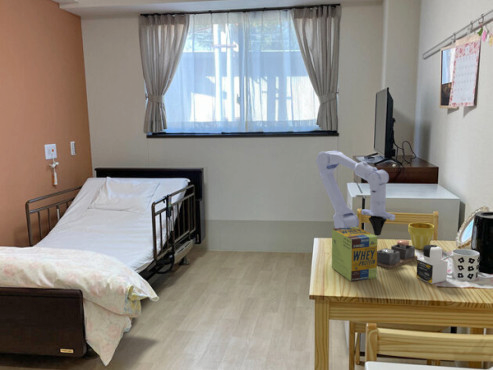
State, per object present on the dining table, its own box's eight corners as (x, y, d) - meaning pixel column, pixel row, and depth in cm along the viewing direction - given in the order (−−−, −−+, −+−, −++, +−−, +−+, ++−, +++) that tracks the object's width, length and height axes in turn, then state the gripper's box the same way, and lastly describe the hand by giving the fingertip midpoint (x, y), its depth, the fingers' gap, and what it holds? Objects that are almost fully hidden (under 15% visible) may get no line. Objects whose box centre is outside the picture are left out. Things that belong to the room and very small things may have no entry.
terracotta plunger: (404, 253, 169) (404, 243, 169) (394, 250, 173) (395, 241, 172) (411, 251, 172) (411, 241, 171) (401, 248, 175) (401, 239, 175)
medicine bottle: (415, 277, 153) (417, 245, 151) (431, 274, 156) (432, 242, 154) (431, 284, 146) (433, 250, 144) (447, 280, 149) (448, 247, 147)
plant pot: (423, 252, 179) (424, 229, 178) (402, 246, 188) (403, 224, 186) (438, 247, 185) (439, 225, 183) (417, 242, 193) (418, 221, 192)
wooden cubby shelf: (389, 269, 161) (390, 256, 161) (372, 263, 168) (372, 251, 167) (417, 258, 172) (417, 246, 171) (399, 253, 178) (400, 242, 177)
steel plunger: (388, 263, 164) (389, 253, 163) (379, 260, 167) (379, 250, 167) (395, 260, 166) (396, 250, 166) (386, 257, 170) (386, 248, 169)
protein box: (351, 282, 151) (351, 239, 148) (331, 267, 165) (331, 228, 163) (377, 278, 153) (378, 236, 151) (355, 264, 168) (356, 225, 165)
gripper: (356, 200, 171) (356, 233, 173) (387, 205, 160) (386, 240, 162) (367, 197, 176) (367, 230, 178) (398, 202, 164) (398, 237, 166)
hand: (377, 234), depth 170 cm, fingers closed
